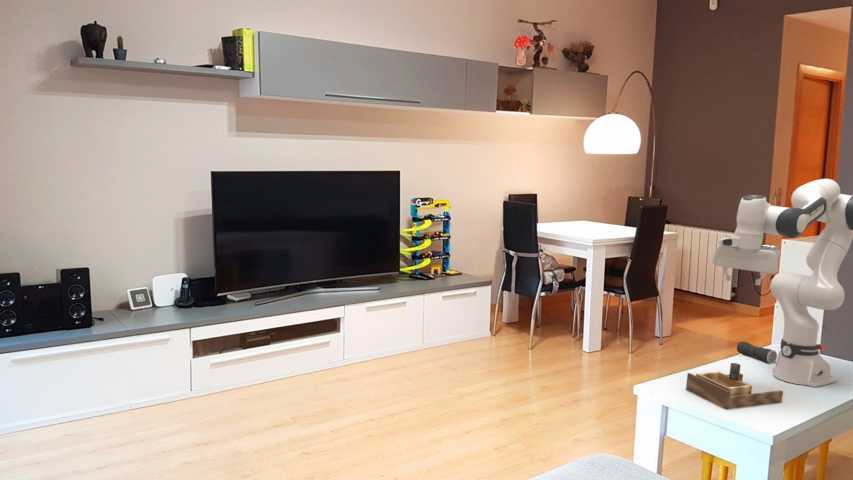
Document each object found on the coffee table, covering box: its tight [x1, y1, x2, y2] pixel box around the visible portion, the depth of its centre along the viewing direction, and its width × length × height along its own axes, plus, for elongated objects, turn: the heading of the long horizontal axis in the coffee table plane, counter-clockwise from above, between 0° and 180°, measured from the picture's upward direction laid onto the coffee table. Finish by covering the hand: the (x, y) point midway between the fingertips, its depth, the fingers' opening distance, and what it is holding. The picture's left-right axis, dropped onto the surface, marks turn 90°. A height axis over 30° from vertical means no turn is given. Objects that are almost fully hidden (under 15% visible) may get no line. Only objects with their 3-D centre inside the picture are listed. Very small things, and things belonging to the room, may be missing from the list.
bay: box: [685, 372, 784, 410], centre depth 236 cm, size 24×18×7 cm
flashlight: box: [736, 341, 778, 365], centre depth 286 cm, size 15×5×5 cm, turn 27°
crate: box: [695, 362, 753, 396], centre depth 234 cm, size 11×14×11 cm
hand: (742, 282), depth 240 cm, fingers open, 8 cm apart
